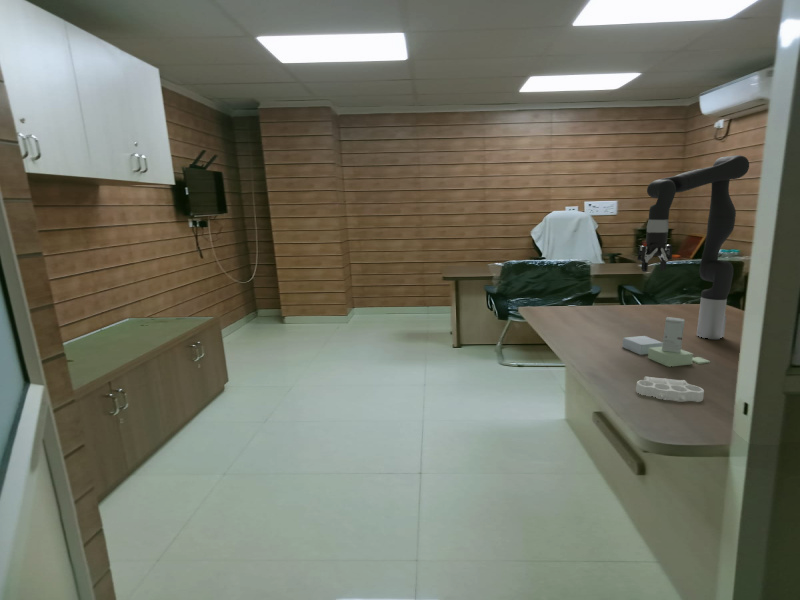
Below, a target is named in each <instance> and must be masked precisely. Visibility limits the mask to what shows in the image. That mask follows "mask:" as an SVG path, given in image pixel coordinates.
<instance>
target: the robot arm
mask: <svg viewBox="0 0 800 600" xmlns="http://www.w3.org/2000/svg"><path fill="white" fill-rule="evenodd" d="M749 169H750V162H749V159H748V158H747V157H746V156H745V155H744V156H743V155H728V156H722V157H719V158H717V159H716V160H715V161H714V163H713V166H709V167H703V168H698V169H694V170H693V169H692V170H689V171H685V172H682V173H679V174H677V175H674V176H669V177H664V178H659V179H655V180H653V181H652V182H650V183H649V185H647V188H646V192H647V195H648V196H649V197H650V198H652V199H657V200H656V202H655V203H654V204H652V205H651V206H650V207H649V210H648V220H647V221H648V222H647V225H646V236H645V243H646V246H645V245H639V246H638V253H637V261H638V262H641V268H640V269H641V271H642V272H645V273H646V272H647V273H648V268H649V260H651V259H652V258H653V257H658V258H659V259H660V262H659V271H665V270H666V269H667V262H668V261H671V260H672V258H673V257H672V254H673V245H672V244H667V243H668V234H669V217H670V208H671V207H672V204H673V202H674V198H675V196H676V193H683V192H686V191H690V190H693V189H696V188H699V187H701V186H702V187H703V186H705V185H706V186H707V185H709V184H711V191H710V193H711V195H710V202H709V203H710V205H709V213H708V219H707V228H706V236H705V241H704V243H705V244H704V248H703V252H702V256H701V261H700V264H699V270H698V271H699V276H700V278H701V279H702V280H703V281H706V282H711V283H712V286H711V287H710V288H708V289H703V290H702V291H701V294H700V295H701V296H700V303H699V304H700V305H699V312H698V319H697V329H696V336H697V337H698V336H699V337H698V338H701V337H702V339H705V338H708V339H707V340H721V339H720V338H722V337H724V338H725V332H726V331H725V330H726V323H727V315H726V309H727V302H728V301H727V300H728V296H729V294H730V291H731V288H732V282H733V278H734V266H733V264H732V263H731V262H729V261H726V260H718V259H719V253H720V250H721V247H722V245H723V244H724V243H725V241H726V240H727V239H728V238H729V237H730V235H731V234H732V232H733V231H734V229H735V223H736V215H737V213H736V212H737V211H736V208H735V205H734V204H733V201H732V198H731V196H730V190H729V189H730V180H737V179H740V178H742V177H744V176H746V174H747V173H748V171H749ZM722 339H723V338H722Z"/></svg>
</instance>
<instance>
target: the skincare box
mask: <svg viewBox="0 0 800 600" xmlns="http://www.w3.org/2000/svg"><path fill="white" fill-rule="evenodd" d="M685 323H686V322H685V318H679V317H669V316H666V317H665V324H664V331H663V338H662V342H663V345H662V351H668V352H675V353H680V351H681V349H682V345H683V344H682V343H683V337H684V329H685Z"/></svg>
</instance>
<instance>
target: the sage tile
mask: <svg viewBox="0 0 800 600" xmlns="http://www.w3.org/2000/svg"><path fill="white" fill-rule="evenodd" d="M692 363H695V364H698V365H704V364H710V363H711V361H710V360H708V359H705V358H704V357H700V356H696V357H694V356H693V359H692Z"/></svg>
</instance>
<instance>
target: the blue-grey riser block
mask: <svg viewBox="0 0 800 600" xmlns="http://www.w3.org/2000/svg"><path fill="white" fill-rule="evenodd" d="M662 345H663V341H659V340H657V339H655V338H652V337H649V336H647V335H639V336H638V335H637V336H629V337H627V336H626V337H622V348H624V349H626V350H628V351H631V352H633V353H635V354H637V355H640V356H642V355H648V353H649V348H653V347H662Z"/></svg>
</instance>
